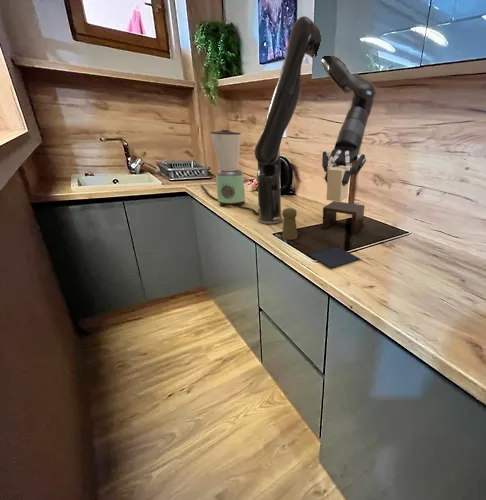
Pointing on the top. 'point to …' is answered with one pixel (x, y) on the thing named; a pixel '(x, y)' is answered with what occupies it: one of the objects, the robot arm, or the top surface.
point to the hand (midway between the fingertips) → (335, 182)
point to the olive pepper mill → (289, 224)
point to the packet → (336, 184)
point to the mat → (333, 257)
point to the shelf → (346, 208)
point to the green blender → (228, 168)
